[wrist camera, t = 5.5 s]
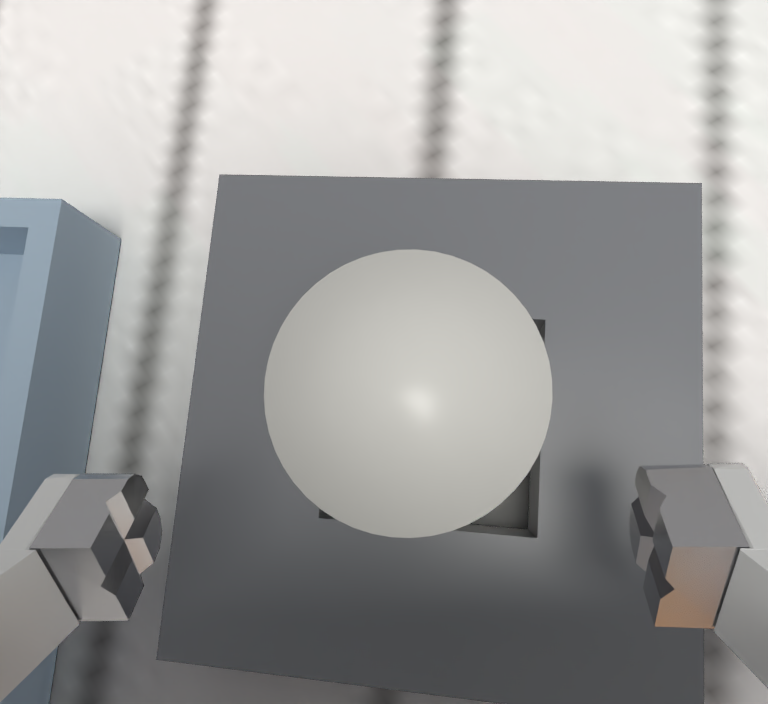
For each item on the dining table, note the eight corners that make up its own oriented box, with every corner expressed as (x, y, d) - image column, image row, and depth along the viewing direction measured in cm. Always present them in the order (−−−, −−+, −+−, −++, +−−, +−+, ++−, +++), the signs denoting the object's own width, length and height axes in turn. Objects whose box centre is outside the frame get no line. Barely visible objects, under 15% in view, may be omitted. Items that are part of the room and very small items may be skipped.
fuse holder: (668, 690, 16) (704, 729, 14) (199, 634, 18) (156, 659, 15) (670, 222, 18) (701, 183, 16) (250, 211, 20) (219, 174, 17)
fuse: (507, 508, 17) (545, 554, 9) (358, 493, 18) (247, 521, 9) (516, 358, 18) (559, 255, 9) (371, 348, 19) (280, 243, 10)
